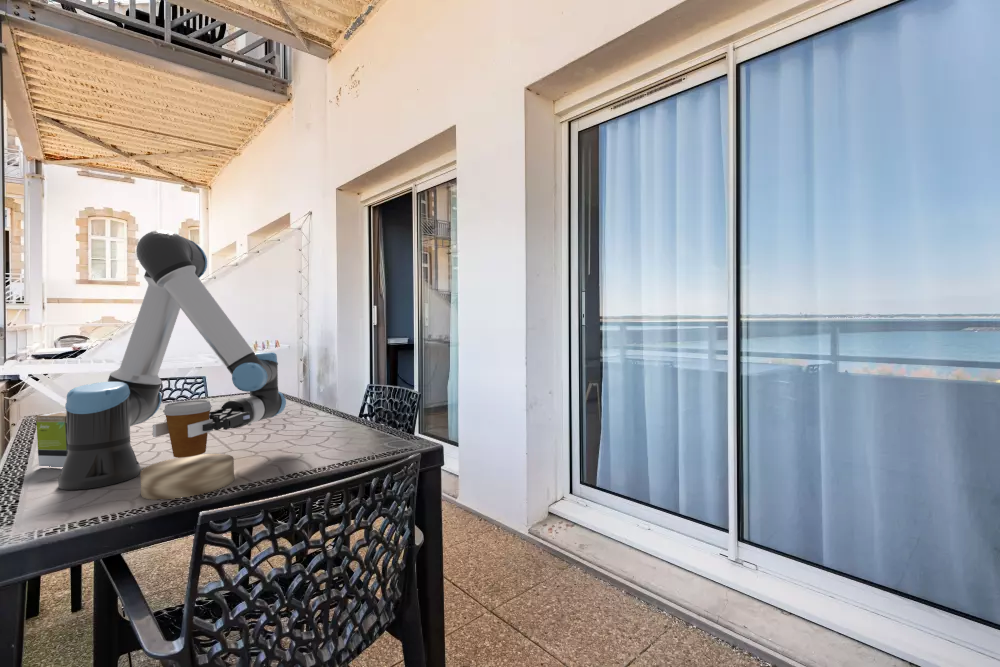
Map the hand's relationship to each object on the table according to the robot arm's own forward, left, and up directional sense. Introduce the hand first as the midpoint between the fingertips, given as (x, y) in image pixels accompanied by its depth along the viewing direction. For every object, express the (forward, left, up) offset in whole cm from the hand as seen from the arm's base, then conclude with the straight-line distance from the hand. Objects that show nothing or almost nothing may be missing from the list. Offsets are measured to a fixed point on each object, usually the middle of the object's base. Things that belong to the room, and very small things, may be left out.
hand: (171, 431), depth 103 cm
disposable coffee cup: (0, +5, -7) cm, 8 cm away
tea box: (-48, +21, -14) cm, 54 cm away
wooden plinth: (0, +5, -14) cm, 15 cm away
